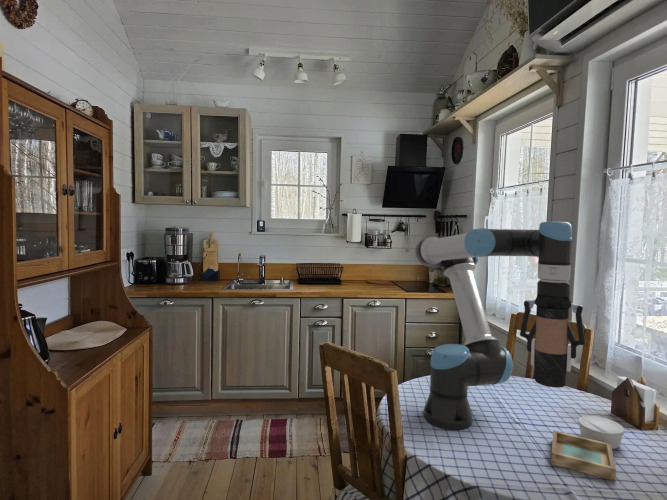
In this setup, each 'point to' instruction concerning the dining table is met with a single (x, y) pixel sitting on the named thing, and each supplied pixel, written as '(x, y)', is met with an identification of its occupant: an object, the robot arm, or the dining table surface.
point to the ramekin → (601, 430)
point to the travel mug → (551, 347)
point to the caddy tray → (583, 455)
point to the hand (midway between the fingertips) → (550, 366)
